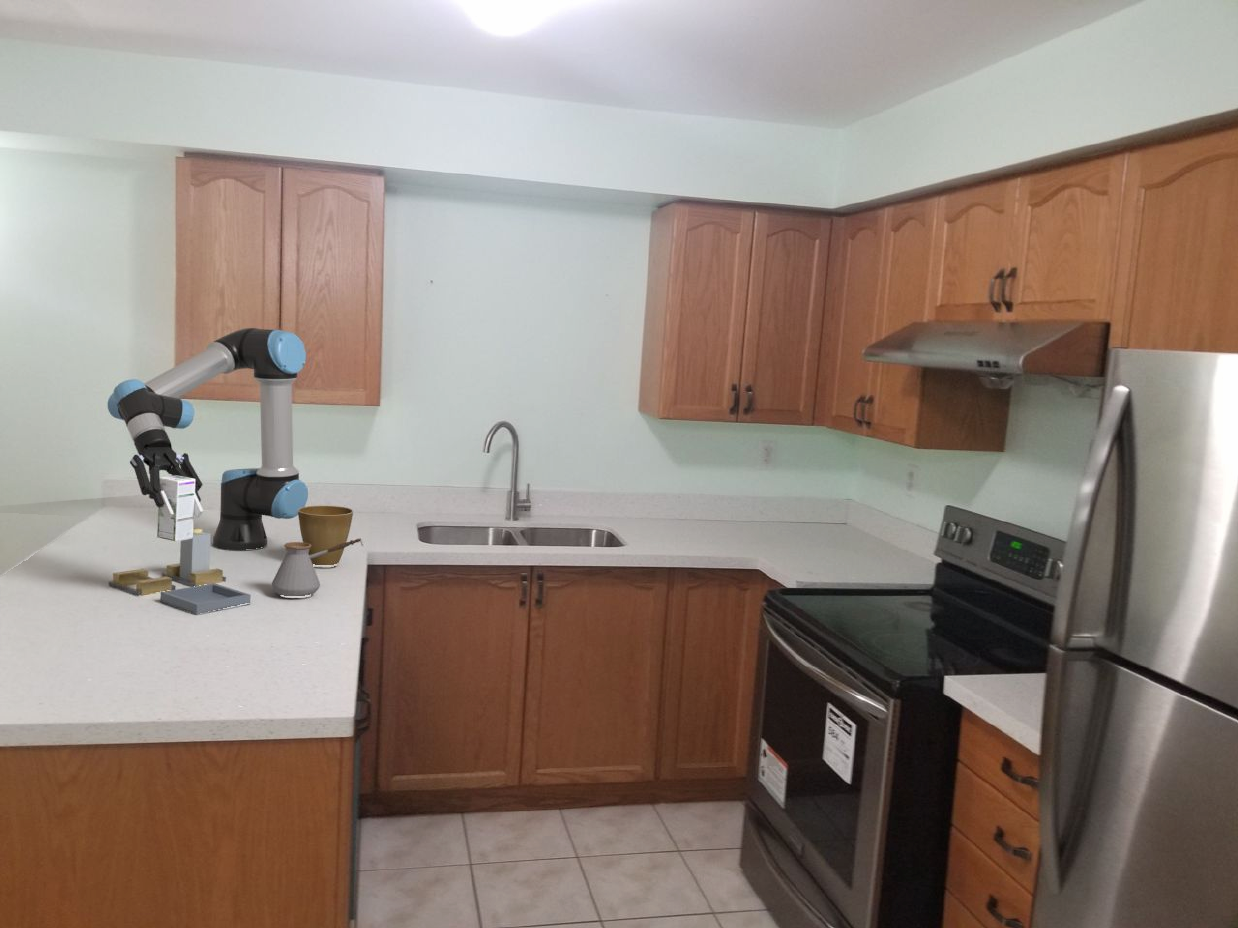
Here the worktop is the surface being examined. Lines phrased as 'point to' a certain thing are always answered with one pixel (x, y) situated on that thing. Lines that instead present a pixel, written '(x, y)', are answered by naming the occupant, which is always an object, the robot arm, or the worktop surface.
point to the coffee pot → (300, 569)
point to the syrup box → (177, 508)
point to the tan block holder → (140, 582)
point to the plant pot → (325, 530)
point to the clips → (194, 576)
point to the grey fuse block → (195, 553)
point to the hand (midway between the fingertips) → (184, 515)
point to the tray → (204, 598)
